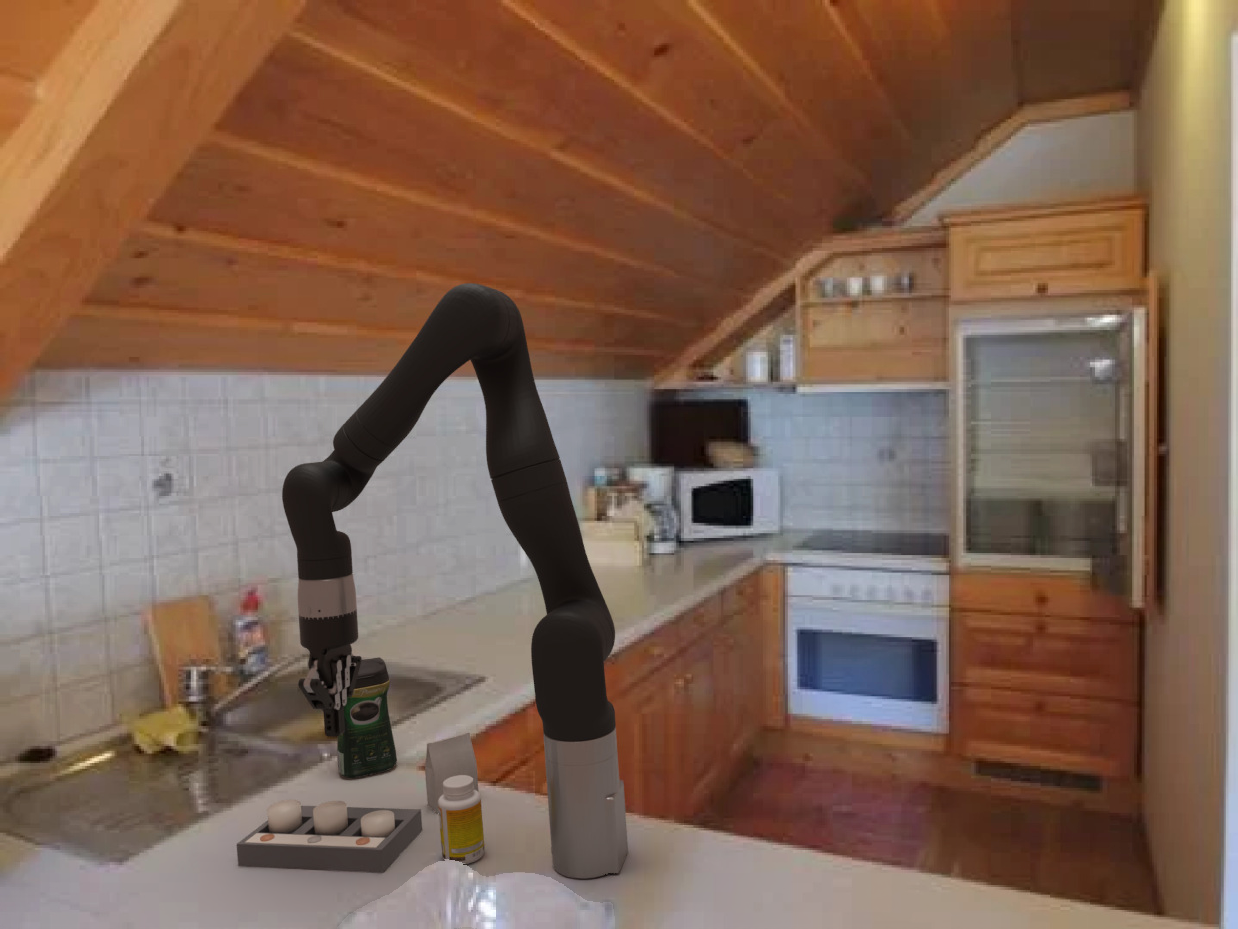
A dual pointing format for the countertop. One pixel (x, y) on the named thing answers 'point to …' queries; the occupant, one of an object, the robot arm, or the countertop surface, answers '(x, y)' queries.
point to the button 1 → (284, 816)
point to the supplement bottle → (461, 820)
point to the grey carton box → (448, 765)
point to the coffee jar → (367, 724)
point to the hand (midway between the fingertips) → (335, 734)
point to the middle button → (330, 818)
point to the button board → (330, 844)
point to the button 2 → (378, 824)
